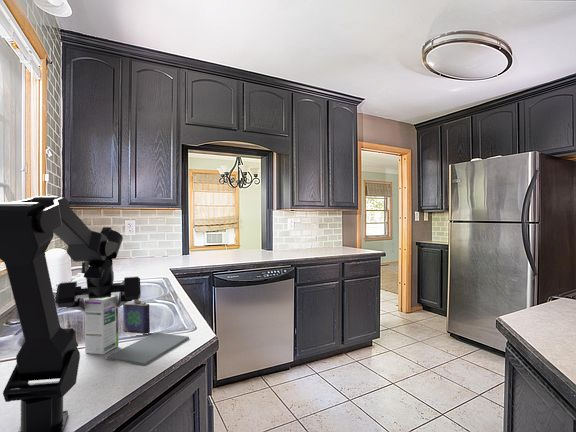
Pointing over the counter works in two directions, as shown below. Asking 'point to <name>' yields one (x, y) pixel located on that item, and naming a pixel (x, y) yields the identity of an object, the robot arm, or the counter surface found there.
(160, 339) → the slate mat
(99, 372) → the counter surface
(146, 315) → the flask
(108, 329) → the syrup box
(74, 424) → the counter surface
